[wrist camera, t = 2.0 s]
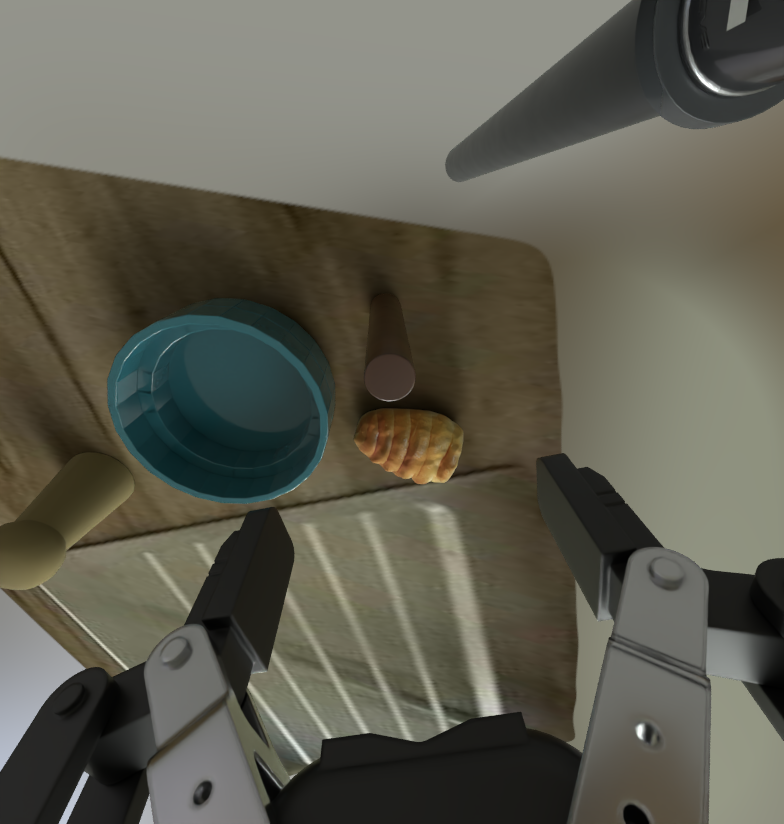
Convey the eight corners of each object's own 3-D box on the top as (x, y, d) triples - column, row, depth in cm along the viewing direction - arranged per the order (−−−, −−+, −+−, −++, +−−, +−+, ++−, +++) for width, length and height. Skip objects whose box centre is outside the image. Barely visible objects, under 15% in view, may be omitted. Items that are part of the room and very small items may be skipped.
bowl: (305, 276, 29) (288, 291, 23) (355, 444, 36) (351, 484, 30) (116, 319, 30) (59, 342, 25) (201, 473, 37) (171, 518, 32)
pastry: (347, 452, 36) (344, 476, 33) (367, 389, 33) (365, 408, 30) (440, 474, 38) (446, 500, 34) (467, 416, 35) (476, 438, 31)
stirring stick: (397, 290, 29) (410, 348, 17) (403, 320, 31) (420, 396, 18) (367, 296, 30) (358, 359, 17) (374, 326, 31) (370, 406, 18)
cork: (136, 507, 39) (54, 607, 29) (71, 497, 38) (-36, 597, 28) (132, 458, 36) (40, 550, 26) (61, 446, 35) (-60, 537, 25)
